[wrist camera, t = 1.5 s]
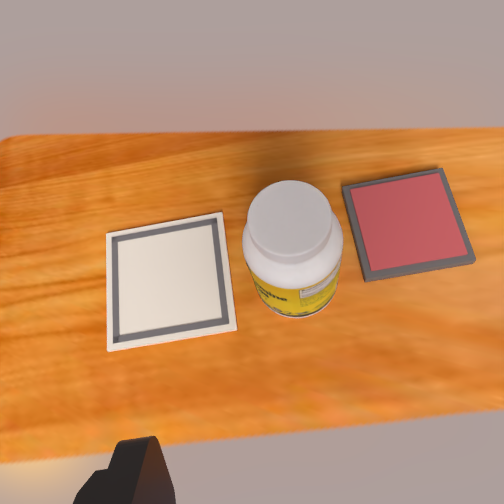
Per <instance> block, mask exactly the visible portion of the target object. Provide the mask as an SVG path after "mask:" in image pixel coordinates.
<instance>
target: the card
mask: <svg viewBox="0 0 504 504" xmlns="http://www.w3.org/2000/svg"><path fill="white" fill-rule="evenodd" d="M106 270H107V351H108V352H112V351H118V350H123V349H129V348H135V347H141V346H147V345H153V344H159V343H165V342H171V341H177V340H183V339H189V338H195V337H201V336H207V335H213V334H218V333H224V332H230V331H236V330H237V322H236V314H235V306H234V298H233V290H232V283H231V275H230V267H229V259H228V251H227V243H226V235H225V227H224V219H223V213H222V212H219V213H214V214H208V215H203V216H198V217H192V218H187V219H182V220H176V221H171V222H165V223H160V224H155V225H149V226H144V227H139V228H133V229H128V230H122V231H117V232H112V233H106Z"/></svg>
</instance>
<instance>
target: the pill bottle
mask: <svg viewBox="0 0 504 504" xmlns="http://www.w3.org/2000/svg"><path fill="white" fill-rule="evenodd" d="M242 247H243V253H244V257H245V260H246V263H247V266H248V268H249V270H250V273H251V275H252V278H253V280H254V283H255V286H256V289H257V291H258V293H259V295H260V297H261V299H262V301H263V302H264V303H265V304H266V305H267V307H269V308H270V309H271V310H272V311H274V312H275V313H277V314H279V315H281V316H284V317H288V318H304V317H308V316H312V315H314V314H316V313H318V312H320V311H321V310H322V309H324V308H325V307H326V306H327V305H328V304H329V302H330V301H331V300H332V298H333V296H334V294H335V291H336V288H337V284H338V278H339V272H340V264H341V257H342V250H343V233H342V228H341V225H340V223H339V221H338V219H337V217H336V215H335V214H334V213H333V211H332V210H331V207H330V204H329V202H328V200H327V198H326V197H325V196H324V194H323V193H322V192H321V191H319V190H318V189H317V188H316V187H314V186H312V185H310V184H308V183H305V182H301V181H296V180H286V181H280V182H276V183H274V184H271V185H269V186H268V187H266V188H264V189H263V190H262V191H260V192H259V193H258V194H257V196H256V197H255V198H254V200H253V201H252V203H251V205H250V207H249V211H248V216H247V223H246V225H245V228H244V231H243V237H242Z"/></svg>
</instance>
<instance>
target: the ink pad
mask: <svg viewBox="0 0 504 504" xmlns="http://www.w3.org/2000/svg"><path fill="white" fill-rule="evenodd" d="M342 194H343V198H344V202H345V206H346V210H347V214H348V218H349V222H350V226H351V230H352V234H353V238H354V242H355V246H356V249H357V253H358V257H359V261H360V265H361V269H362V273H363V277H364V281H365V282H370V281H375V280H381V279H387V278H393V277H399V276H404V275H410V274H416V273H422V272H428V271H433V270H439V269H445V268H451V267H457V266H462V265H468V264H473V263H474V262H475V261H476V257H475V255H474V252H473V249H472V247H471V244H470V241H469V238H468V236H467V233H466V230H465V227H464V225H463V222H462V219H461V217H460V214H459V211H458V208H457V206H456V203H455V200H454V198H453V195H452V192H451V189H450V187H449V184H448V181H447V178H446V176H445V173H444V170H443V168H439V169H433V170H428V171H423V172H417V173H412V174H407V175H401V176H396V177H390V178H385V179H380V180H374V181H369V182H364V183H358V184H353V185H348V186H342Z"/></svg>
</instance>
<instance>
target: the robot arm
mask: <svg viewBox="0 0 504 504" xmlns="http://www.w3.org/2000/svg"><path fill="white" fill-rule="evenodd" d="M73 504H176V500H175V492H174V487H173V484H172V481H171V478H170V475H169V472H168V469H167V466H166V463H165V460H164V456H163V453H162V450H161V447H160V444H159V441H158V439H157V438H156V437H155V436H149V437H143V438H136V439H129V440H122V441H119V442H118V444H117V445H116V447H115V450H114V453H113V456H112V458H111V461H110V464H109V467H108V469H104V470H98V471H95V472H94V473H93V474H92V476H91V477H90V478H89V479H88V481H87V482H86V483H85V484H84V485H83V487H82V488H81V489H80V490H79V492H78V493H77V495H76V497H75V500H74V502H73Z"/></svg>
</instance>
